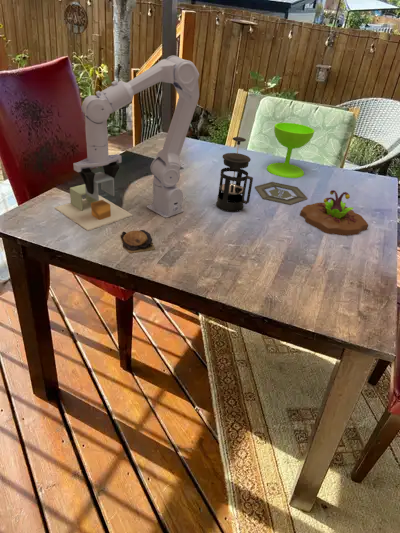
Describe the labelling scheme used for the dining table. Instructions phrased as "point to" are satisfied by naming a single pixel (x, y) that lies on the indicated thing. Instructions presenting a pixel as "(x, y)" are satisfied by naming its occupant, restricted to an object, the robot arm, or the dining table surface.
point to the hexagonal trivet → (286, 194)
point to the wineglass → (290, 147)
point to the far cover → (79, 196)
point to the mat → (86, 217)
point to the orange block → (100, 209)
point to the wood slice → (137, 241)
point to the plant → (334, 216)
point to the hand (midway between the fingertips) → (99, 190)
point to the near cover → (102, 185)
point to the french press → (233, 190)
